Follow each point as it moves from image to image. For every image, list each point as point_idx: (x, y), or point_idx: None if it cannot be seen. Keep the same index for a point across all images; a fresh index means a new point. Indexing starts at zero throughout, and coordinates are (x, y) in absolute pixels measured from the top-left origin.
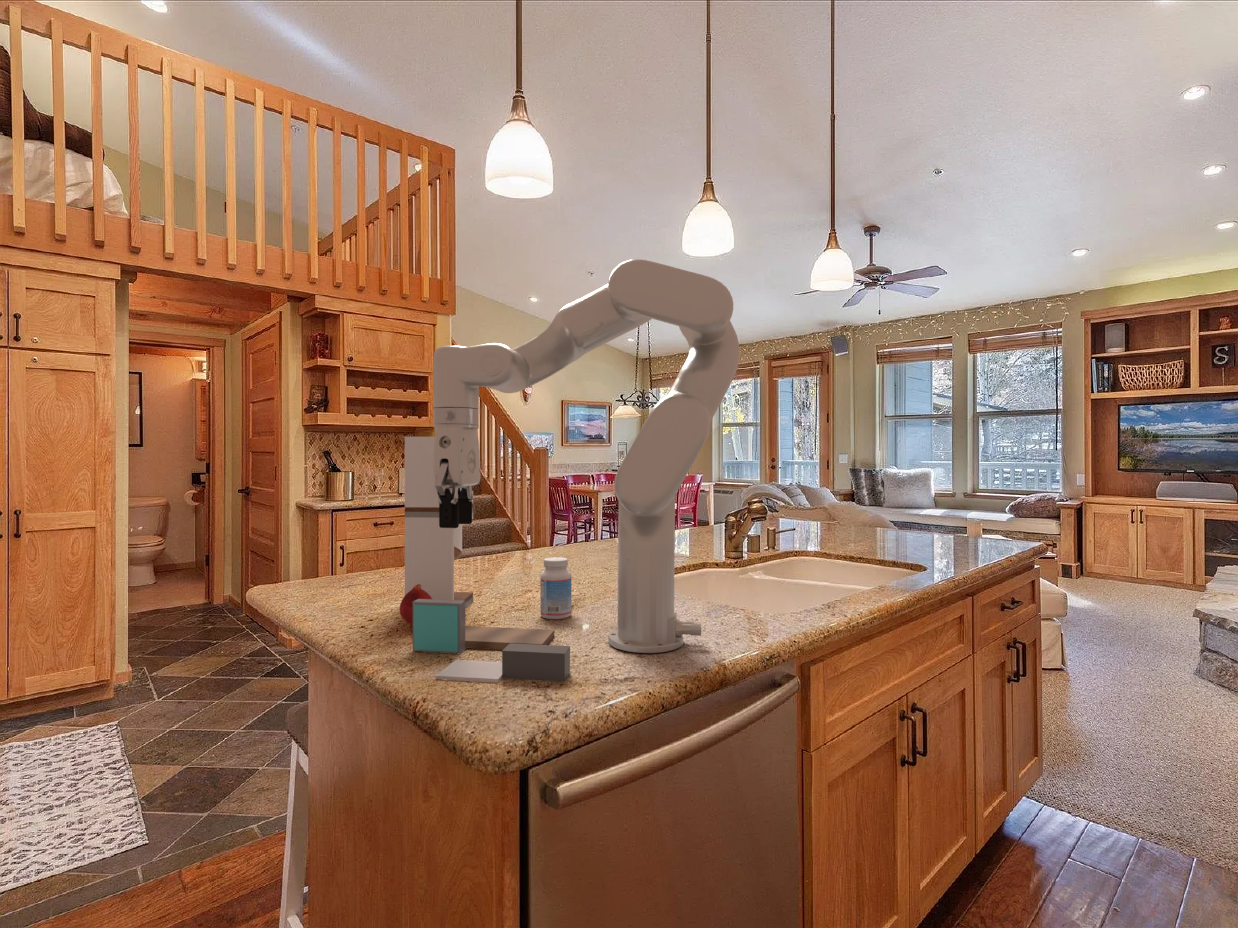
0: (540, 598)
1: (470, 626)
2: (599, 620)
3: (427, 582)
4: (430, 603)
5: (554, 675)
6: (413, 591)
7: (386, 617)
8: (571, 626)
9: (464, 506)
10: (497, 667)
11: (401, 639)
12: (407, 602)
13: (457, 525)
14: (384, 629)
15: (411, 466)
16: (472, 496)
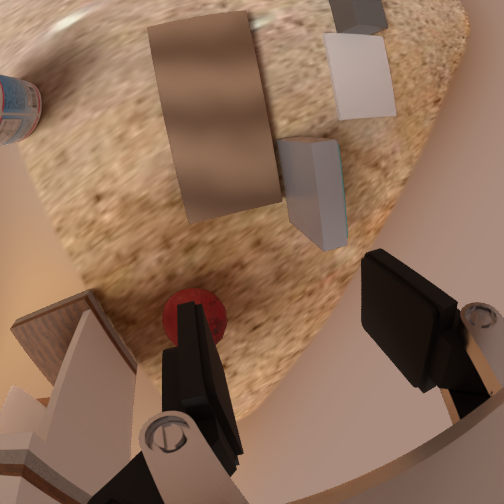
0: (13, 137)
1: (182, 191)
2: (25, 26)
3: (109, 375)
4: (344, 206)
5: None
6: None
7: None
8: (73, 41)
9: (222, 395)
10: (349, 48)
11: (259, 275)
12: (225, 326)
13: (382, 250)
14: None
15: None
16: (145, 444)
